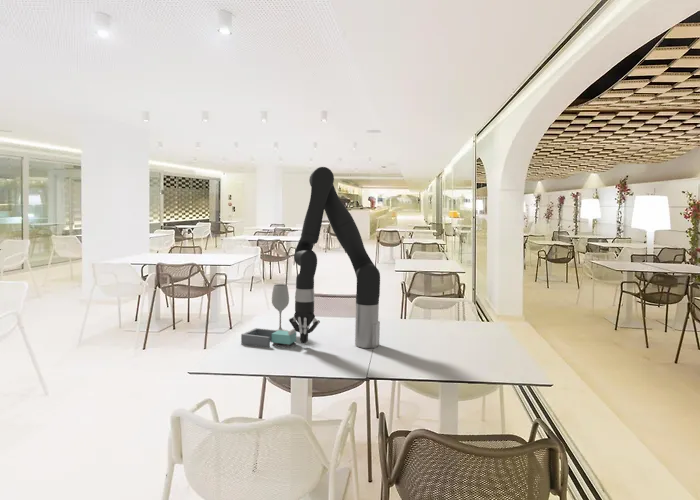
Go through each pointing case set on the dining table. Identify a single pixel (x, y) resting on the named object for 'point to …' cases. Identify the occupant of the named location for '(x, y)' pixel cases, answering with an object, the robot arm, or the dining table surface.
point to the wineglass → (280, 299)
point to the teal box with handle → (284, 338)
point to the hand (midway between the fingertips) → (303, 342)
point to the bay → (257, 337)
